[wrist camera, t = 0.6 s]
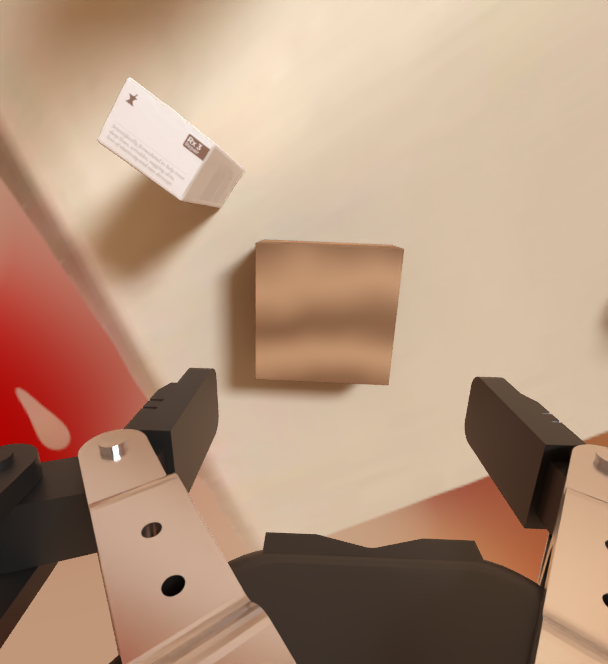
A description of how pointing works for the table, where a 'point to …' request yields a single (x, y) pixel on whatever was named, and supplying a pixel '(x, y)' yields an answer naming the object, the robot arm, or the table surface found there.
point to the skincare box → (168, 148)
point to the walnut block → (326, 311)
